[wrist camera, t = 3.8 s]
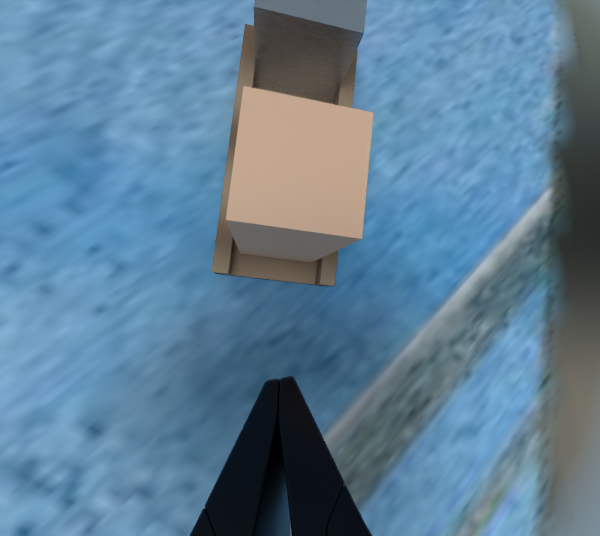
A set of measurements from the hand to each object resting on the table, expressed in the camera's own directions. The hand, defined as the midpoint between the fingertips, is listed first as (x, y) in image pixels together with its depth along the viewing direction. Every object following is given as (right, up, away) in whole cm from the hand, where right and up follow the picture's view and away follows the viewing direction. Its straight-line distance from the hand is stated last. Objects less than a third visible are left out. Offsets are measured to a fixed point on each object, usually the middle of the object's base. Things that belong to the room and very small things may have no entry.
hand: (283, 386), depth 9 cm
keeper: (-1, +7, +12) cm, 14 cm away
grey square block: (0, +17, +14) cm, 22 cm away
